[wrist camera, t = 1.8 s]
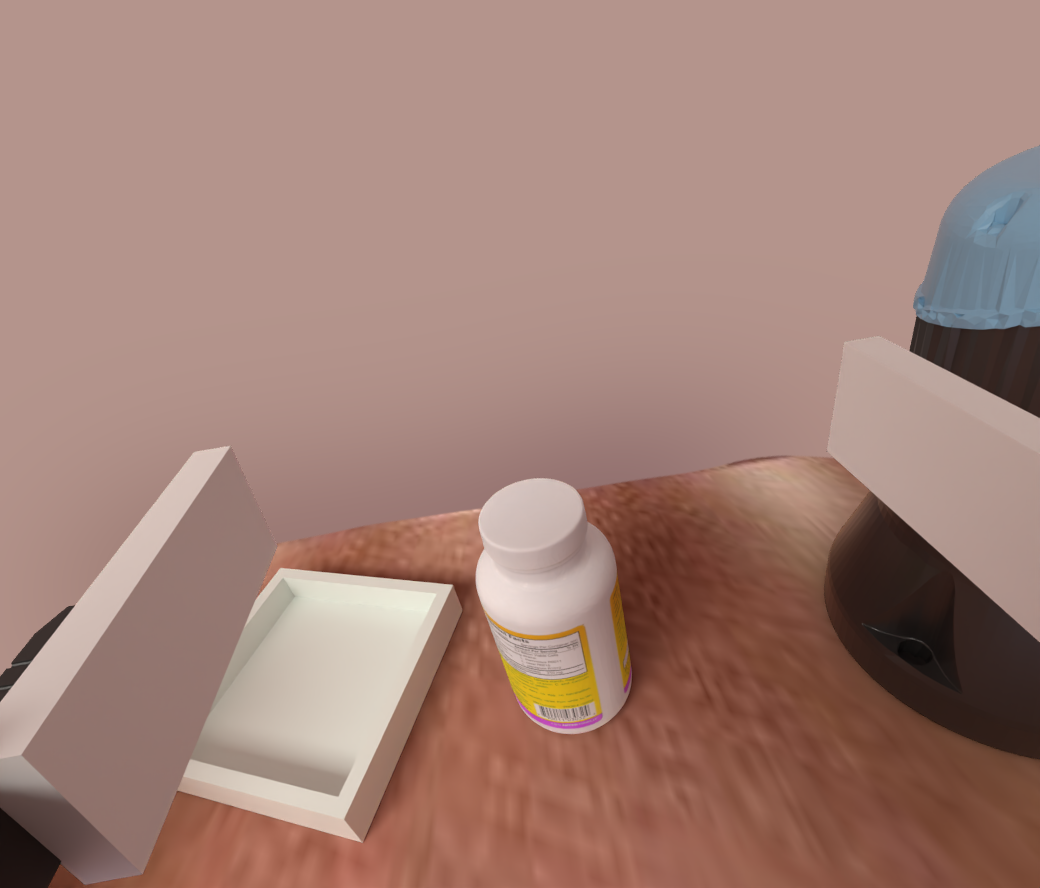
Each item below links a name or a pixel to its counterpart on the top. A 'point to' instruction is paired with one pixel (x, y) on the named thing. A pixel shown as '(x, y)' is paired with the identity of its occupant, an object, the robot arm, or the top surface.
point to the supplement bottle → (554, 605)
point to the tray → (322, 697)
